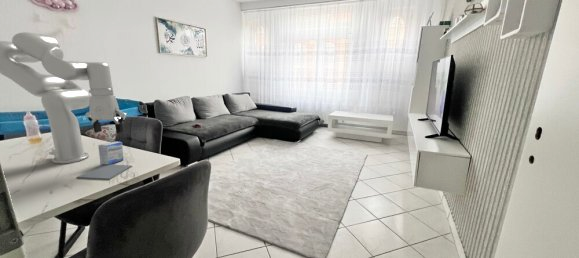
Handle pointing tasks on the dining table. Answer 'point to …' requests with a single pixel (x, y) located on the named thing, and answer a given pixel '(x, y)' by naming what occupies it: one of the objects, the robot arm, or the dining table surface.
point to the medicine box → (110, 153)
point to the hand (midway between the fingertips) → (109, 132)
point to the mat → (104, 172)
